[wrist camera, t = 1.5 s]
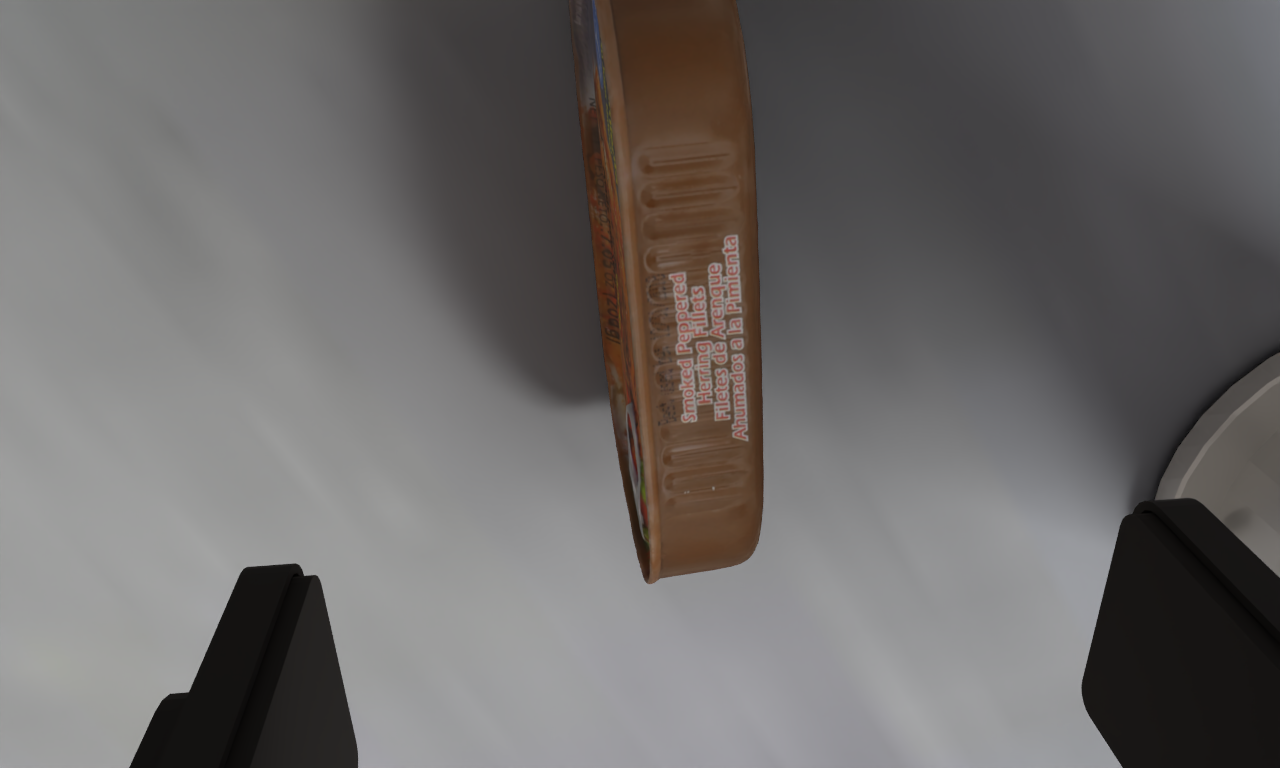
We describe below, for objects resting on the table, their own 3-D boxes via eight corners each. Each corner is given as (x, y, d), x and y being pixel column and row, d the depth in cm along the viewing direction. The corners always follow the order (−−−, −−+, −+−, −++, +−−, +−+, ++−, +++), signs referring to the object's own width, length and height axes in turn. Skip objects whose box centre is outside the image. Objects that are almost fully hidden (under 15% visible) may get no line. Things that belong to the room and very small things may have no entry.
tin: (557, -92, 23) (555, -78, 15) (694, -103, 23) (759, -96, 15) (614, 465, 29) (632, 663, 22) (719, 454, 30) (771, 648, 22)
